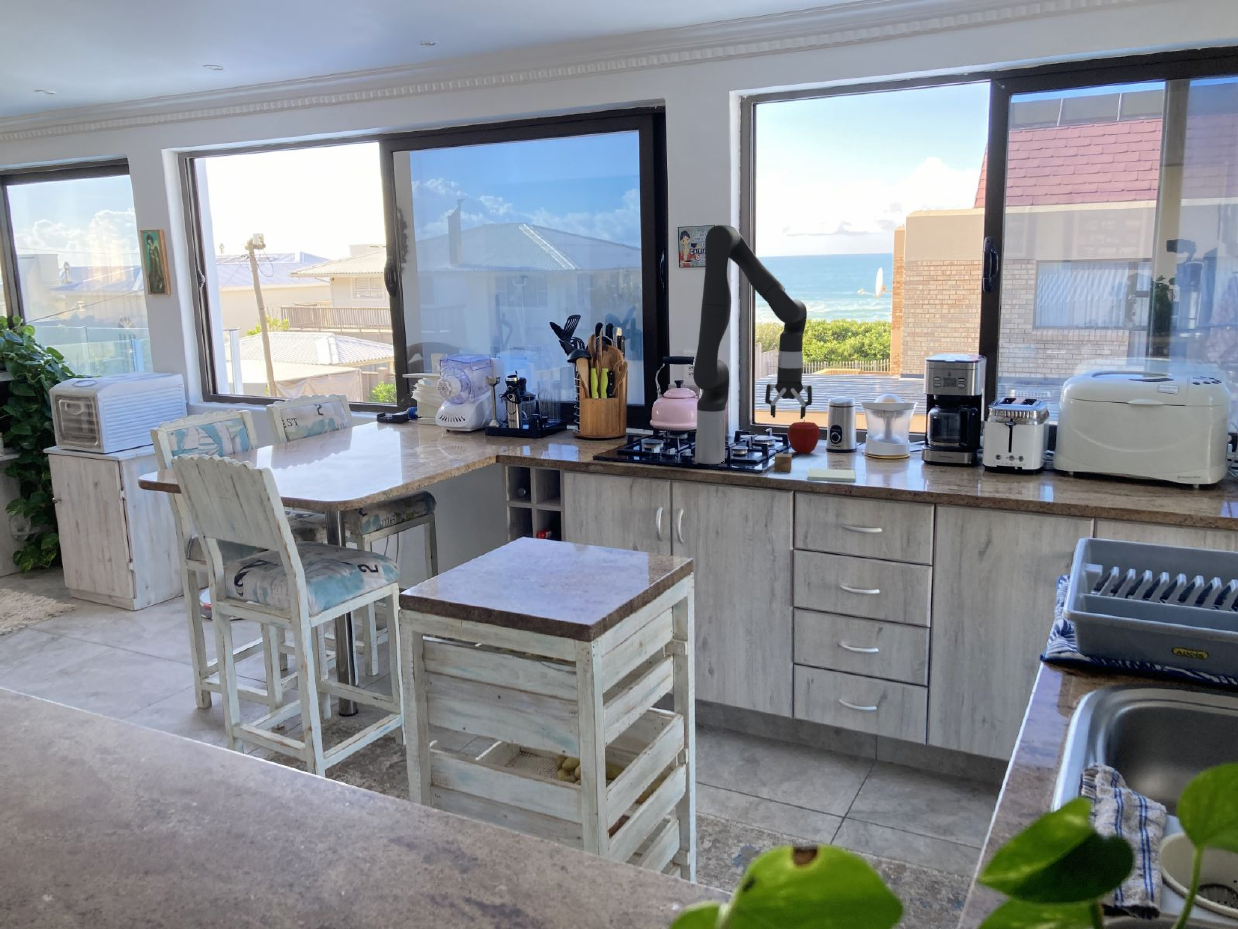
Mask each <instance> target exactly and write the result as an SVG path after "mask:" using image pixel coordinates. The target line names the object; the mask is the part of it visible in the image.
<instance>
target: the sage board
mask: <svg viewBox="0 0 1238 929" xmlns="http://www.w3.org/2000/svg"><path fill="white" fill-rule="evenodd" d="M856 479H857V478H856V470H854V469H853V470H851V469H831V468H829V469H828V468H825V469H824V468H808V472H807V480H808V481H826V482H827V481H830V482H849V483H851V482H852V483H853V482H854V483H856Z"/></svg>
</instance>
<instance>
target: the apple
mask: <svg viewBox="0 0 1238 929" xmlns="http://www.w3.org/2000/svg"><path fill="white" fill-rule="evenodd" d="M786 433H787V441H788V443H789V445H790V448H791V450H792V451H794V453H795V454H798V455H809V454H811V453H812V452H813V451H815V449H816V448H817V445H818V442H819V439H820V435H821V430H820V427H819V425H817V423H815V422H813V421H812V422H811V421H810V422H809V421H806V420H805V419H803V421H797V422H792V423H791V425H789V426H788V429H787V430H786Z"/></svg>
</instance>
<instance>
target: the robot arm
mask: <svg viewBox="0 0 1238 929" xmlns="http://www.w3.org/2000/svg"><path fill="white" fill-rule="evenodd" d="M704 241H705V242H704V259H705V260H704V261H705V262H704V263H705V264H704V265H705V266H704V268H705V269H704V278H703V291H702V298H701V299H702V300H701V308H700V310H701V311H700V323H699V324H700V325H699V334H698V345H697V350H696V356H695V360H694V365H693V371H692V372H693V373H692V374H693V381H694V384H695V386H696V387H697V388H698V389H699V390H703V391H702V395H701V396H700V398H699V399H698V400H697V403H696V433H695V439H694V440H695V447H694V448H695V449H694V450H695V451H694V455H695V456H694V459H695V460H694V462H695V463H696V464H697V463H698V464H704V465H717V464H722V463H721V462H723V461H724V462H725V457H726V455H725V454H726V453H725V452H726V409H727V408H726V406H727V402H728V400H729V393H730V392H729V391H730V370H729V368H728V365H727V364H726V363H725V362H724V361H723V360H720V359H719V358H718V357H719V350H720V345H721V343H722V340H723V338H724V335H725V334H726V331H727V328H728V326H729V322H730V318H731V311H732V293H731V288H730V285H729V278H728V265H729V259H730V260H731V261H732V262H734V263H735V264H736V265H737V266H738V267H739V268H740V269H741V271H742V272H743V274H744V275H745V277H746V279H747V281H748V282H749V284H750V285H751V287H752V288H753V289H754V291H755V292H757V294H759V296H760V297H761V298H762V299H763V300H764V301H765V302H767V304H768V305H769V307H770V309H771V311H772V312H773V314H774V315H775V317H777V319H779V320H780V322H782V323H784V326H783V331H782V332H781V333H780V336H779V344H778V345H779V348H778V357H777V373H776V374H777V375H776V376H777V377H776V384H771V383H768V384H766V386H765V387H766V388H765V399H764V403H765V404H768V405H770V416H771V417H772V418H773V419H774V418H776V411H777V410H776V408H777V406H776V405H777V404H776V403H777V402H778V401H779V400H780V399H781V398H782V399H784V400H786V399H789V400H794V399H796V400H797V401H798V402H799V404H800V405H801V406H800V418H799V419H800V420H804V418H805V416H806V413H807V412H806V410H807V407H808V406H811V405H812V404H813V386H812V385H811V384H808V385H803V383H802V382H803V365H804V362H803V360H804V358H803V345H804V344H803V342H804V341H803V337H804V333H805V328H806V324H807V317H808V315H807V314H808V312H807V306H806V304H805V303H804V302H803V301H802V300H799V299H792V298H791V297H790V296H789V295H788V293H787V292H786V288H785V285H783V284H782V283H781V282H780V280H779V279H778V278H777V277H776V276H775V275H774V274H773V273H772V272H771V271H770V270H769V269H768V268H767V267H766V266H765V265H764V264H763V262H762V261H760V259H759V258H758V257H757V255H756V254H755V253H754V252H753V250H752V249H751V248H750V246H749V244H747V241H746V240H745V239H744V237H743V236H742V234H741V233H740V232H739V231H738V229H737V228H735V227H734V226H732V225H725V224H716V225H714V226H712V227H711V228H710V229H709V230H708V231H707V233H706V236H705V240H704ZM774 389H775V390H776V392H777V393H778V394H777V395H776V396H775V397H774V398H773V399H771V392H773V391H774ZM803 390H804V392H805V393H806V394H807V401H805V400H804V398H803V396H802V395H801V394H800V393H802V391H803ZM724 462H723V463H724Z"/></svg>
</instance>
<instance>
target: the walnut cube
mask: <svg viewBox="0 0 1238 929" xmlns="http://www.w3.org/2000/svg"><path fill="white" fill-rule="evenodd" d="M792 456H793V454H792V453H775V455H774V469H773V470H774V471H773V472H774V473H791V472H792V460H793V458H792Z"/></svg>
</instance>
